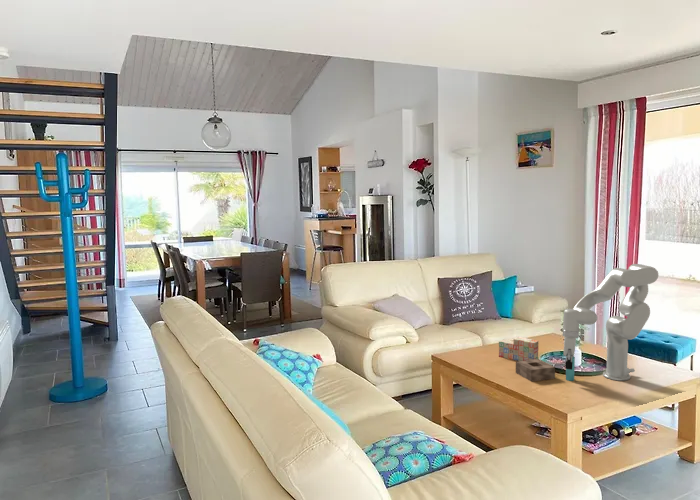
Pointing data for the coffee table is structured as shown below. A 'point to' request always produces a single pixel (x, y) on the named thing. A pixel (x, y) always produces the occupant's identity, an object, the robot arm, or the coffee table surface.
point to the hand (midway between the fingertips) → (569, 366)
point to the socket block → (535, 370)
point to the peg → (571, 371)
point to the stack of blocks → (519, 349)
